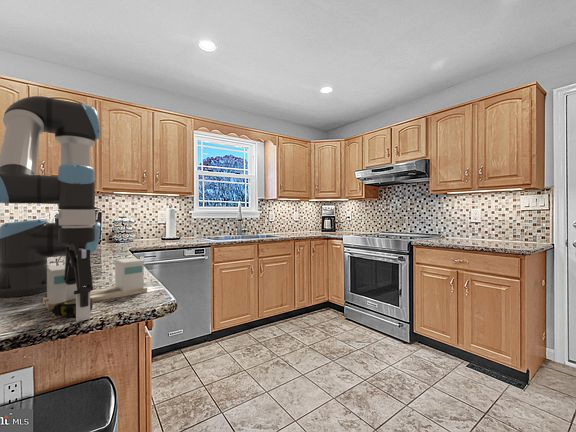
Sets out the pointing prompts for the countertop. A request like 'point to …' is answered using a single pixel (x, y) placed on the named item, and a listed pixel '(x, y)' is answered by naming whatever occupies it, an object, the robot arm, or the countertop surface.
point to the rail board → (102, 295)
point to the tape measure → (67, 308)
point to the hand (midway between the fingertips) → (77, 313)
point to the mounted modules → (126, 278)
